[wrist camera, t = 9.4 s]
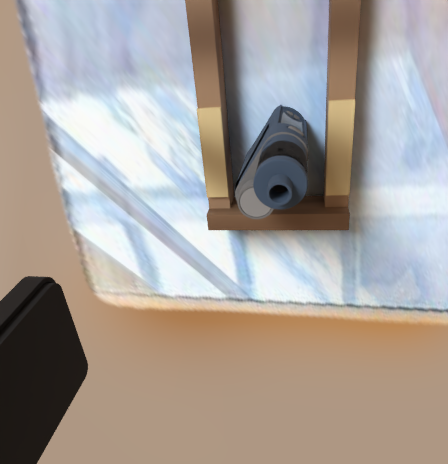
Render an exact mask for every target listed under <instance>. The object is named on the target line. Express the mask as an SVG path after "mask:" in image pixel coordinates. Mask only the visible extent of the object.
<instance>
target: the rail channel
mask: <svg viewBox="0 0 448 464" xmlns="http://www.w3.org/2000/svg"><path fill="white" fill-rule="evenodd" d="M185 2H186V11H187V20H188V28H189V37H190V45H191V54H192V63H193V71H194V80H195V88H196V97H197V105H198V109H197V115H198V124H199V132H200V141H201V149H202V158H203V166H204V175H205V183H206V192H207V197H208V200H209V211H208V213H207V221H208V230H349V216H350V213H349V209H348V200H349V193H350V178H351V162H352V146H353V130H354V114H355V88H356V72H357V56H358V39H359V23H360V7H361V0H329V31H328V64H327V97H326V130H325V163H324V195H322V196H304V198H303V199H302V200H301V201H300V202H299V203H298V204H297V205H295V206H293V207H291V208H288V209H281V210H279V209H274V210H273V211H272V213H271V214H270V215H269V216H267V217H265V218H263V219H251V218H248V217H246V216H245V215H243V214H242V213H241V211H240V210H239V208H238V204H237V200H236V197H234V188H233V176H232V164H231V152H230V140H229V128H228V116H227V104H226V92H225V80H224V68H223V56H222V44H221V32H220V20H219V8H218V0H185Z"/></svg>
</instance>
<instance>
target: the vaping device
mask: <svg viewBox="0 0 448 464" xmlns="http://www.w3.org/2000/svg"><path fill="white" fill-rule="evenodd" d="M307 161H308V147H307V127H306V120H304V118H303V117H302V116H301V114H300V113H299V112H297V111H296V110H294V109H292V108H290V107H282V105H280V106H278V107H277V108H276V109H275V110H274V112H273V113H272V115H271V117H270V118H269V120H268V122H267V123H266V125H265V126H264V128H263V130H262V131H261V133H260V135H259V136H258V138H257V140H256V141H255V143H254V144H253V146H252V147H251V149H250V150H249V151H248V153H247V155H246V158H245V160H244V163H243V166H242V169H241V171H240V174H239V177H238V180H237V182H236V185H235V197H236V200H237V204H238V208H239V210H240V211H241V213H242V214H243V215H245V216H246V217H248V218H251V219H263V218H265V217H267V216H269V215H270V214H271V213H272V211H273V210H274V209H279V210H281V209H288V208H291V207H293V206H295V205H297V204H298V203H299V202H300V201H301V200H302V199H303V198H304V196H305V194H306V191H307V187H308V181H307Z"/></svg>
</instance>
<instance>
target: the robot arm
mask: <svg viewBox="0 0 448 464" xmlns="http://www.w3.org/2000/svg"><path fill="white" fill-rule="evenodd" d="M87 370H88V363H87V360H86V357H85V354H84V351H83V348H82V345H81V343H80V339H79V337H78V334H77V331H76V328H75V325H74V322H73V320H72V317H71V314H70V311H69V308H68V305H67V302H66V299H65V296H64V293H63V291H62V288H61V286H60V285H59V284H57V283H56V282H55V281H54V280H53V279H52V278H50V277H32V276H28V277H25V278H23V279H22V280H21V281H20V282H19V283H18V284H17V285H16V286H15V287H14V288H13V289H12V290H11V291H10V292H9V293H8V294H7V295H6V296H5V297H4V298H3V299H2V300H1V301H0V464H37V462H38V460H39V459H40V457H41V455H42V453H43V452H44V450H45V448H46V446H47V445H48V443H49V441H50V439H51V437H52V436H53V434H54V432H55V430H56V429H57V427H58V425H59V423H60V422H61V420H62V418H63V416H64V414H65V413H66V411H67V409H68V407H69V406H70V404H71V402H72V400H73V398H74V397H75V395H76V393H77V392H78V390H79V388H80V386H81V384H82V382H83V381H84V379H85V377H86V375H87Z"/></svg>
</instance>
